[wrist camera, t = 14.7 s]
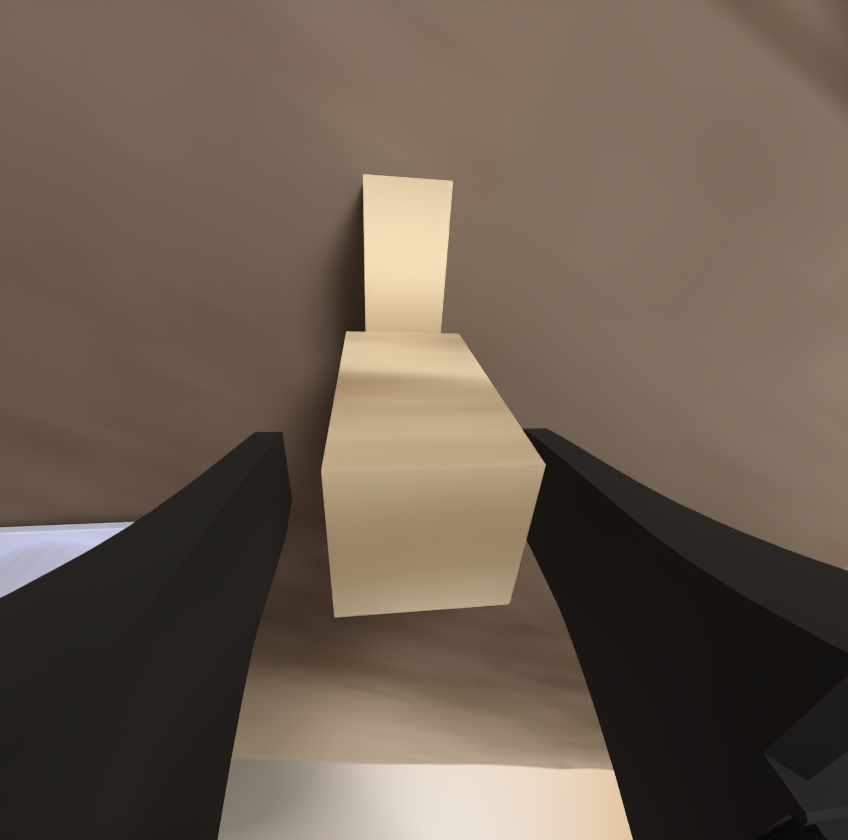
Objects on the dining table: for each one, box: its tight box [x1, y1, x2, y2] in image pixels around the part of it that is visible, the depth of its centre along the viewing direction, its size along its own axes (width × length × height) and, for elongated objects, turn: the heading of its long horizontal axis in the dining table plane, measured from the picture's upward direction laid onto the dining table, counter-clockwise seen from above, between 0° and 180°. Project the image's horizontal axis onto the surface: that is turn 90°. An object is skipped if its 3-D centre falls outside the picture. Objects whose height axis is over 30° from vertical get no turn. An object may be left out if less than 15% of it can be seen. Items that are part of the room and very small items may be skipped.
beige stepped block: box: [321, 174, 546, 617], centre depth 10 cm, size 10×3×9 cm, turn 177°
